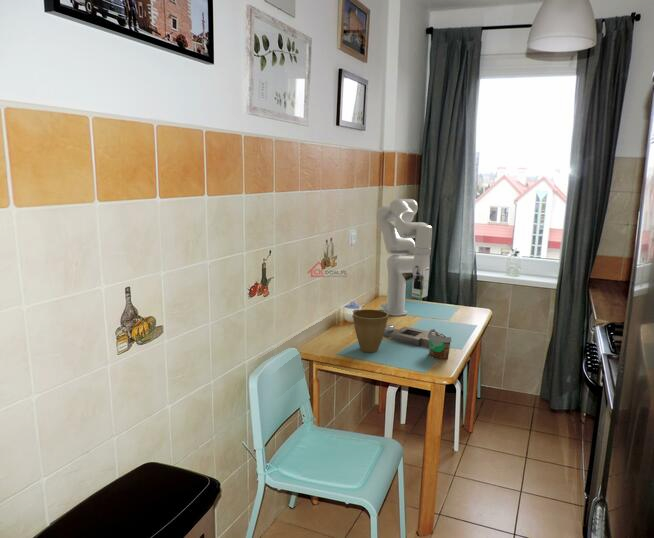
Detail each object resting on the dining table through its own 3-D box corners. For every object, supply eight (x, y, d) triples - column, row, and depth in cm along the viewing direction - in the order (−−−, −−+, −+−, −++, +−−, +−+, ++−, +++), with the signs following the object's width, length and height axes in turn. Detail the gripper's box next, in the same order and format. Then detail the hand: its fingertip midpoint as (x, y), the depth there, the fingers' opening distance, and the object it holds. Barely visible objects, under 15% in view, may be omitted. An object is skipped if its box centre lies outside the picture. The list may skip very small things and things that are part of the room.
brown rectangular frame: (390, 339, 236) (391, 331, 235) (404, 332, 247) (404, 324, 246) (433, 349, 224) (433, 340, 224) (445, 341, 235) (446, 333, 235)
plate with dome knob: (377, 336, 240) (377, 328, 239) (390, 329, 251) (391, 321, 250) (417, 346, 229) (418, 337, 228) (430, 338, 239) (431, 329, 239)
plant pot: (393, 350, 223) (395, 314, 220) (370, 358, 213) (372, 320, 210) (367, 341, 233) (369, 306, 230) (344, 348, 223) (345, 312, 220)
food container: (420, 352, 221) (421, 330, 219) (432, 350, 223) (434, 328, 221) (437, 362, 210) (439, 339, 208) (450, 360, 212) (451, 337, 210)
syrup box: (411, 296, 250) (413, 266, 247) (417, 293, 254) (419, 265, 251) (421, 298, 246) (423, 268, 243) (427, 296, 251) (430, 267, 247)
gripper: (423, 247, 254) (420, 283, 258) (407, 252, 241) (404, 289, 245) (437, 249, 250) (434, 285, 254) (422, 254, 236) (419, 292, 240)
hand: (420, 287), depth 249 cm, fingers closed on syrup box, 6 cm apart
